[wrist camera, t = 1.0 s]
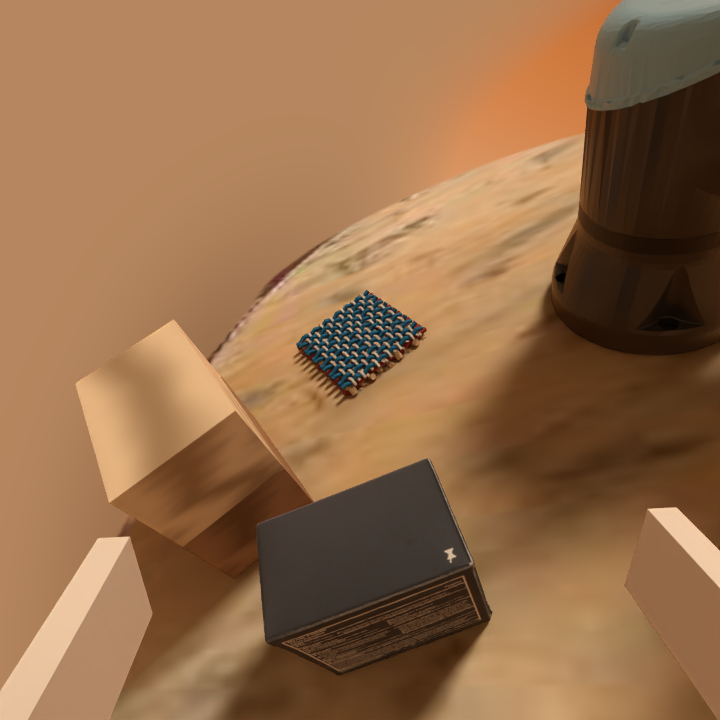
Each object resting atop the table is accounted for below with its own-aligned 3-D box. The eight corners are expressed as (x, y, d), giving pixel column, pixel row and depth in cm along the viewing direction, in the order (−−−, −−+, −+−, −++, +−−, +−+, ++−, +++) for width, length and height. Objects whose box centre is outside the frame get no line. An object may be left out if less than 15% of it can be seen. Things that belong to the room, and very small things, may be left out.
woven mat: (434, 339, 45) (430, 324, 43) (351, 404, 42) (345, 391, 41) (371, 297, 51) (367, 284, 50) (297, 351, 49) (290, 339, 47)
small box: (453, 521, 32) (430, 449, 24) (495, 620, 27) (482, 568, 20) (316, 573, 32) (251, 518, 25) (335, 679, 28) (262, 650, 20)
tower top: (220, 376, 39) (173, 319, 34) (283, 467, 31) (235, 410, 26) (137, 434, 37) (75, 383, 32) (182, 547, 29) (109, 502, 24)
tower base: (257, 420, 44) (221, 376, 39) (319, 509, 36) (284, 468, 31) (185, 473, 42) (138, 434, 37) (234, 578, 34) (182, 547, 29)
